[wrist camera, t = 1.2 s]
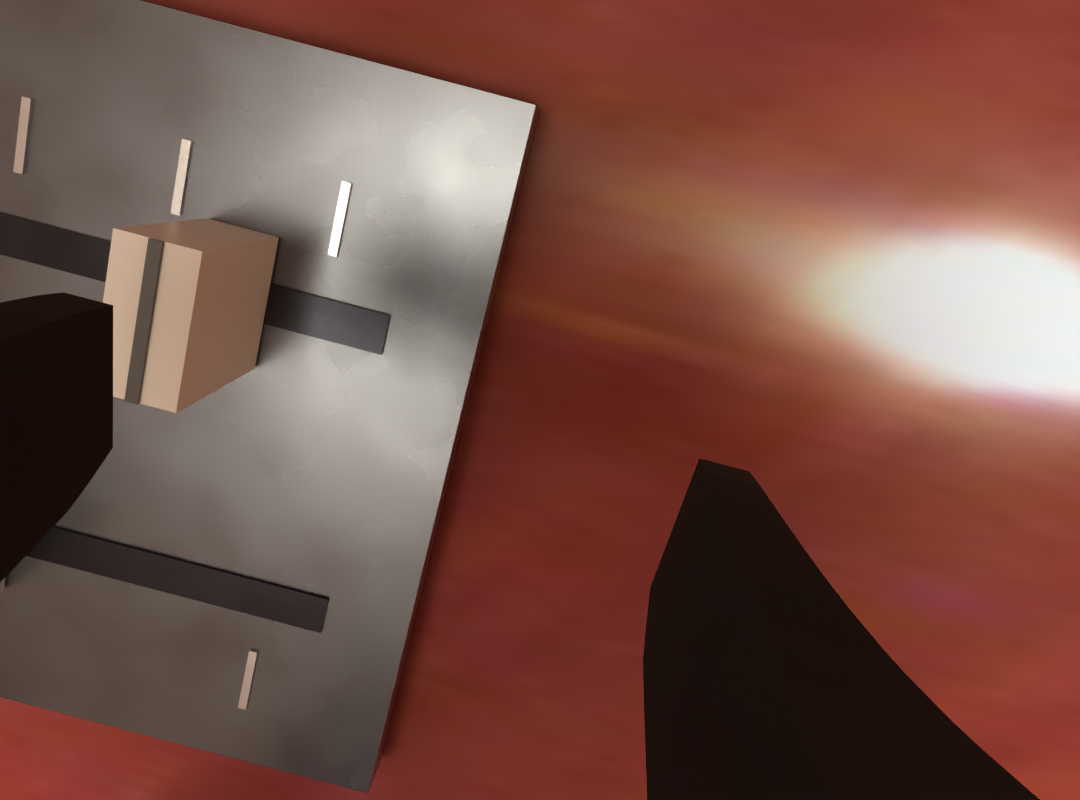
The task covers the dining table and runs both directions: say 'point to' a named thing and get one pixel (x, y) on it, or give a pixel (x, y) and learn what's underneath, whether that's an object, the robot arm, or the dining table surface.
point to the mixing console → (253, 373)
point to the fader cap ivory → (185, 308)
